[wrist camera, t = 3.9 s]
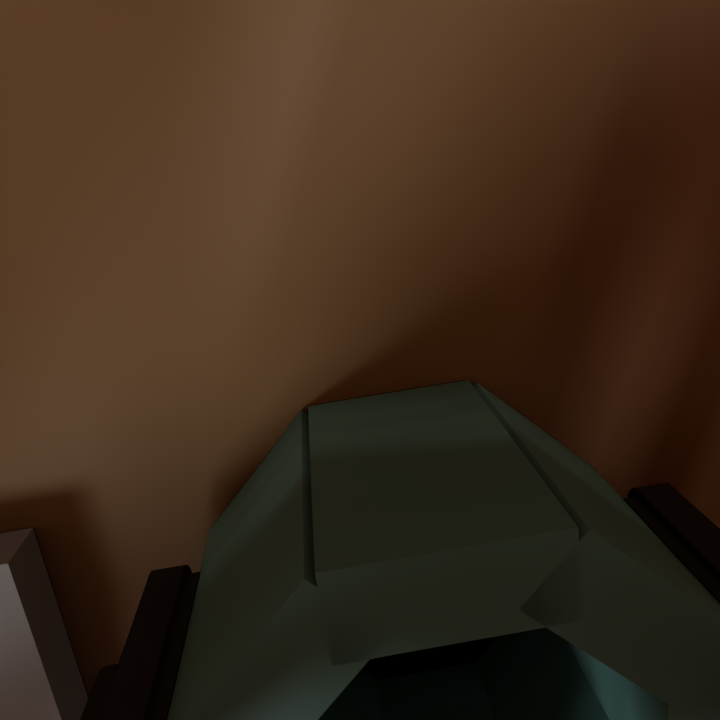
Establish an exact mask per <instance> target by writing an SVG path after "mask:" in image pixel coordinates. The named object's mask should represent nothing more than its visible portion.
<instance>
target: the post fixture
mask: <svg viewBox="0 0 720 720" xmlns="http://www.w3.org/2000/svg"><path fill="white" fill-rule="evenodd" d="M87 700H88V696H87V693H86V690H85V687H84V684H83V681H82V678H81V675H80V672H79V669H78V666H77V663H76V660H75V656H74V653H73V650H72V647H71V644H70V641H69V638H68V635H67V632H66V629H65V626H64V623H63V620H62V616H61V613H60V610H59V607H58V604H57V601H56V598H55V595H54V592H53V589H52V586H51V583H50V580H49V576H48V573H47V570H46V567H45V564H44V561H43V558H42V555H41V552H40V549H39V546H38V543H37V540H36V536H35V533H34V530H33V528H29V529H23V530H17V531H11V532H5V533H0V720H80V719H81V716H82V713H83V711H84V708H85V705H86V703H87Z"/></svg>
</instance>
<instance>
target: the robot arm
mask: <svg viewBox="0 0 720 720" xmlns="http://www.w3.org/2000/svg"><path fill="white" fill-rule="evenodd" d="M623 500H624V501H625V502H626V503H627V504H628V505H629V506H630V508H631V509H632V510H633V511H634V512H635V513H636V514H637V515H638V516H639V517H640V518H641V519H642V520H643V521H644V523H645V524H646V525H647V526H648V527H649V528H650V529H651V530H652V531H653V532H654V533H655V534H656V535H657V537H658V538H659V539H660V540H661V541H662V542H663V543H664V544H665V545H666V546H667V547H668V548H669V549H670V551H671V552H672V553H673V554H674V555H675V556H676V557H677V558H678V559H679V560H680V561H681V562H682V563H683V564H684V566H685V567H686V568H687V569H688V570H689V571H690V572H691V573H692V574H693V575H694V576H695V577H696V578H697V580H698V581H699V582H700V583H701V584H702V585H703V586H704V587H705V588H706V589H707V590H708V591H709V592H710V594H711V595H712V596H713V597H714V598H715V599H716V600H717V601H718V602H719V603H720V529H719V528H718V527H717V526H716V525H715V524H714V523H712V522H711V521H710V520H709V519H708V518H707V517H706V516H705V515H703V514H702V513H701V512H700V511H699V510H698V509H697V508H696V507H695V506H693V505H692V504H691V503H690V502H689V501H688V500H687V499H686V498H685V497H683V496H682V495H681V494H680V493H679V492H678V491H677V490H676V489H675V488H673V487H672V486H671V485H670V484H668V483H660V484H655V485H649V486H643V487H637V488H632V489H631V490H630V491H629V494H628V498H626V499H623ZM199 577H200V572H196V573H192V572H191V569H190V567H189V566H188V565H182V566H176V567H171V568H165V569H159V570H153V571H151V573H150V575H149V577H148V580H147V583H146V586H145V589H144V592H143V594H142V597H141V600H140V603H139V606H138V609H137V612H136V615H135V617H134V620H133V623H132V626H131V629H130V632H129V635H128V638H127V640H126V643H125V646H124V649H123V652H122V655H121V658H120V661H119V664H116V665H110V666H105V667H104V668H102V669H101V670H100V671H99V673H98V675H97V677H96V679H95V682H94V684H93V687H92V690H91V692H90V695H89V698H88V700H87V703H86V705H85V708H84V711H83V713H82V716H81V719H80V720H167V717H168V712H169V708H170V704H171V699H172V695H173V691H174V686H175V682H176V677H177V673H178V669H179V664H180V660H181V655H182V651H183V647H184V642H185V638H186V634H187V629H188V625H189V620H190V616H191V612H192V607H193V603H194V599H195V594H196V590H197V585H198V581H199Z"/></svg>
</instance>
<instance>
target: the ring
mask: <svg viewBox="0 0 720 720" xmlns="http://www.w3.org/2000/svg"><path fill="white" fill-rule="evenodd" d="M496 636H499V637H498V638H497V639H496V640H495V641H494V642H493V643H492V645H491V646H490V647H489V648H488V649H487V650H486V651H485V652H484V653H483V654H482V656H481V657H480V658H479V659H478V660H477V661H476V662H475V663H470V664H464V665H459V666H453V667H448V668H442V669H437V670H431V671H426V672H420V673H414V674H409V675H403V676H398V677H392V678H387V679H381V680H376V679H375V678H373V677H371V676H369V675H367V674H366V673H364V672H362V671H360V670H361V669H362V668H363V667H364V666H365V664H366V663H367V662H368V661H369V660H370V659H373V658H379V657H384V656H390V655H395V654H401V653H407V652H412V651H418V650H423V649H429V648H434V647H440V646H446V645H451V644H457V643H462V642H468V641H474V640H479V639H485V638H490V637H496ZM167 720H720V603H719V602H718V601H717V600H716V599H715V598H714V597H713V596H712V595H711V594H710V592H709V591H708V590H707V589H706V588H705V587H704V586H703V585H702V584H701V583H700V582H699V581H698V580H697V578H696V577H695V576H694V575H693V574H692V573H691V572H690V571H689V570H688V569H687V568H686V567H685V566H684V564H683V563H682V562H681V561H680V560H679V559H678V558H677V557H676V556H675V555H674V554H673V553H672V552H671V551H670V549H669V548H668V547H667V546H666V545H665V544H664V543H663V542H662V541H661V540H660V539H659V538H658V537H657V535H656V534H655V533H654V532H653V531H652V530H651V529H650V528H649V527H648V526H647V525H646V524H645V523H644V521H643V520H642V519H641V518H640V517H639V516H638V515H637V514H636V513H635V512H634V511H633V510H632V509H631V508H630V506H629V505H628V504H627V503H626V502H625V501H624V500H623V499H622V497H621V496H620V495H619V494H618V493H617V492H616V491H615V490H614V489H613V488H612V487H611V486H610V485H609V484H608V482H607V481H606V480H605V479H604V478H603V477H602V476H601V475H600V474H599V473H598V472H597V471H596V470H595V468H594V467H593V466H592V465H590V464H589V463H588V462H586V461H585V460H583V459H582V458H581V457H579V456H578V455H577V454H575V453H574V452H572V451H571V450H570V449H568V448H567V447H566V446H564V445H563V444H561V443H560V442H559V441H557V440H556V439H554V438H553V437H552V436H550V435H549V434H548V433H546V432H545V431H543V430H542V429H541V428H539V427H538V426H537V425H535V424H534V423H532V422H531V421H530V420H528V419H527V418H526V417H524V416H523V415H521V414H520V413H519V412H517V411H516V410H514V409H513V408H512V407H510V406H509V405H508V404H506V403H505V402H503V401H502V400H501V399H499V398H498V397H497V396H495V395H494V394H492V393H491V392H490V391H488V390H487V389H486V388H484V387H483V386H481V385H480V384H479V383H477V382H475V383H474V385H472V384H471V382H470V381H469V380H466V381H459V382H453V383H447V384H441V385H435V386H429V387H423V388H416V389H410V390H404V391H398V392H392V393H386V394H380V395H374V396H367V397H361V398H355V399H349V400H343V401H337V402H331V403H325V404H318V405H312V406H308V414H306V413H305V412H303V411H302V410H301V411H300V412H299V414H298V415H297V416H296V418H295V419H294V420H293V422H292V423H291V424H290V426H289V427H288V428H287V429H286V431H285V432H284V433H283V435H282V436H281V437H280V439H279V440H278V441H277V443H276V444H275V445H274V447H273V448H272V449H271V450H270V452H269V453H268V454H267V456H266V457H265V458H264V460H263V461H262V462H261V464H260V465H259V466H258V468H257V469H256V470H255V471H254V473H253V474H252V475H251V477H250V478H249V479H248V481H247V482H246V483H245V485H244V486H243V487H242V489H241V490H240V491H239V492H238V494H237V495H236V496H235V498H234V499H233V500H232V502H231V503H230V504H229V506H228V507H227V508H226V510H225V511H224V512H223V513H222V515H221V516H220V517H219V519H218V520H217V521H216V523H215V524H214V525H213V527H212V528H211V529H210V531H209V535H208V540H207V544H206V548H205V553H204V557H203V561H202V566H201V570H200V577H199V581H198V585H197V590H196V594H195V599H194V603H193V607H192V612H191V616H190V620H189V625H188V629H187V634H186V638H185V642H184V647H183V651H182V655H181V660H180V664H179V669H178V673H177V677H176V682H175V686H174V691H173V695H172V699H171V704H170V708H169V712H168V717H167Z"/></svg>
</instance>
